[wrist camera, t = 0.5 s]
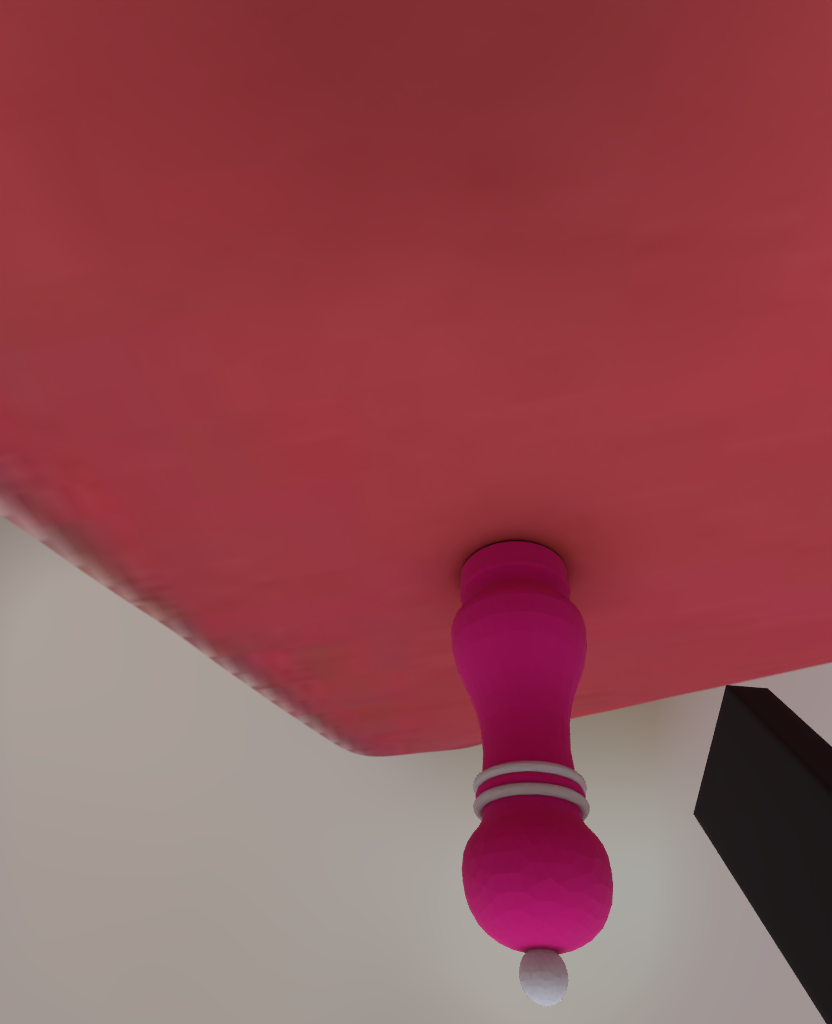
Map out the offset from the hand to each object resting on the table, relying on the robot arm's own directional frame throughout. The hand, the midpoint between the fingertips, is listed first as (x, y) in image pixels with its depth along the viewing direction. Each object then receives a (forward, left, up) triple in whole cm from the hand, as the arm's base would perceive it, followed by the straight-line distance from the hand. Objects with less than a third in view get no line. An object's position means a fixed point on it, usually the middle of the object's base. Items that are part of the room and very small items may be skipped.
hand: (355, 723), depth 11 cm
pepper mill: (+15, +10, -19) cm, 26 cm away
